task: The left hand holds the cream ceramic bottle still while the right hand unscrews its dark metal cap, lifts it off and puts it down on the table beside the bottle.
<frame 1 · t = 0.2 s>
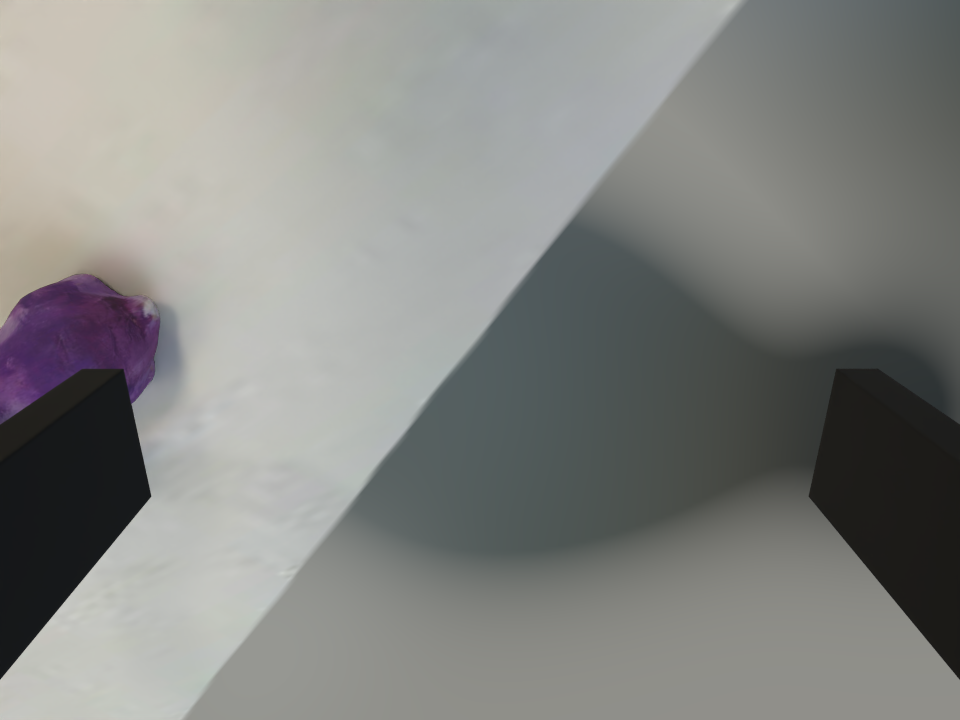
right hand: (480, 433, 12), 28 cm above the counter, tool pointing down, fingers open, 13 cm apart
figurine: (95, 347, 42), on the counter
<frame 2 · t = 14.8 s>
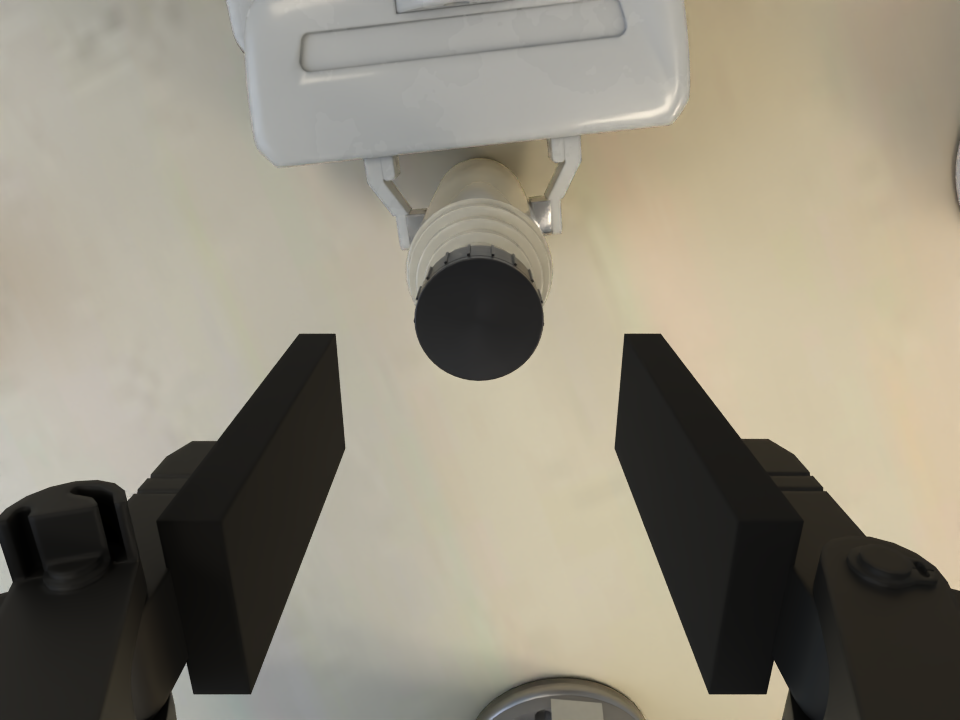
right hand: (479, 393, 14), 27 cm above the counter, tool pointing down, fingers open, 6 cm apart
left hand: (482, 240, 34), fingers closed on bottle, 5 cm apart
cap: (479, 318, 19), point 22 cm above the counter, screwed on, not yet turned
bottle: (479, 204, 39), on the counter, touching left hand
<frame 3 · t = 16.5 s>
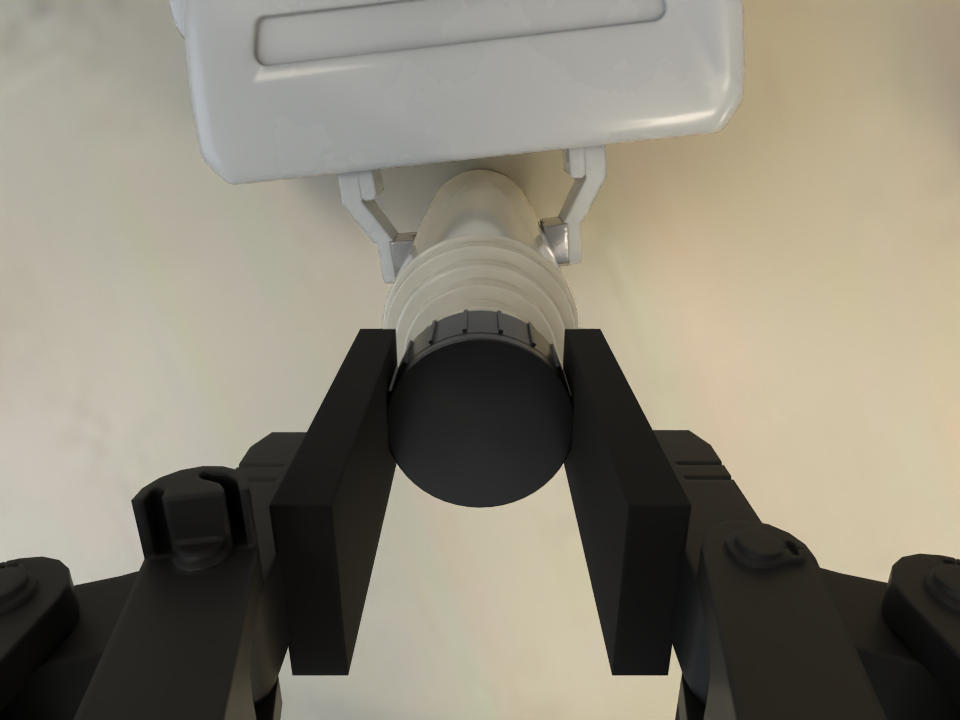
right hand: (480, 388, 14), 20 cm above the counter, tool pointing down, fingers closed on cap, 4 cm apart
left hand: (483, 271, 28), fingers closed on bottle, 5 cm apart
cap: (480, 420, 13), point 22 cm above the counter, screwed on, not yet turned, touching right hand
bottle: (480, 223, 33), on the counter, touching left hand
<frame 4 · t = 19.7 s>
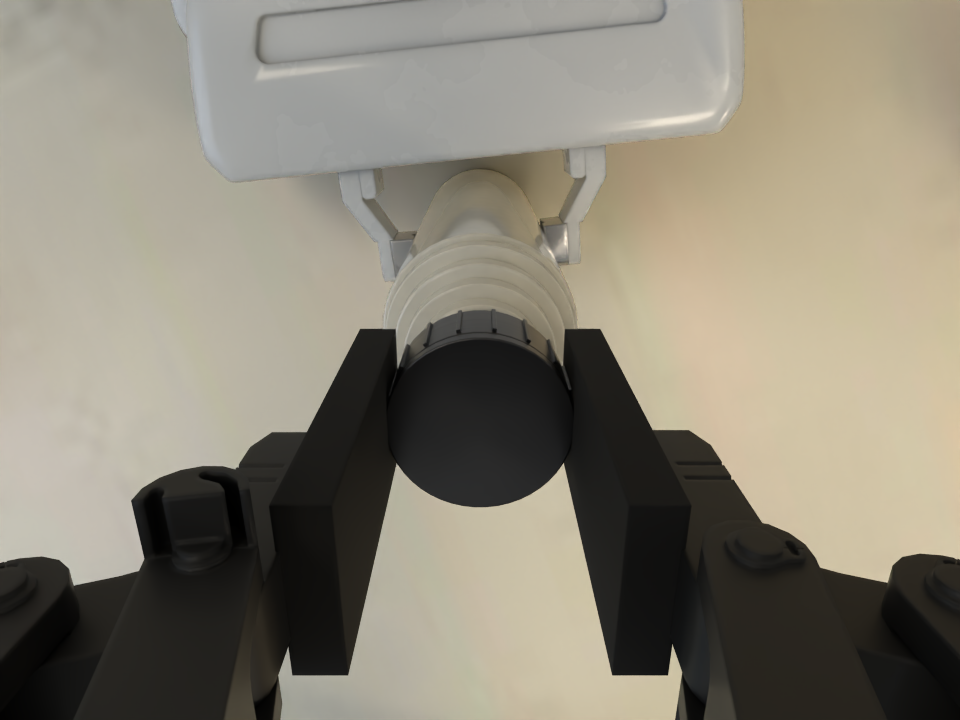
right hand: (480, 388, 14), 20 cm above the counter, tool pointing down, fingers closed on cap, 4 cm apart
left hand: (483, 270, 28), fingers closed on bottle, 5 cm apart
cap: (480, 420, 13), point 22 cm above the counter, turned 110° so far, risen 0.1 cm, still on its thread, touching right hand
bottle: (480, 223, 33), on the counter, touching left hand
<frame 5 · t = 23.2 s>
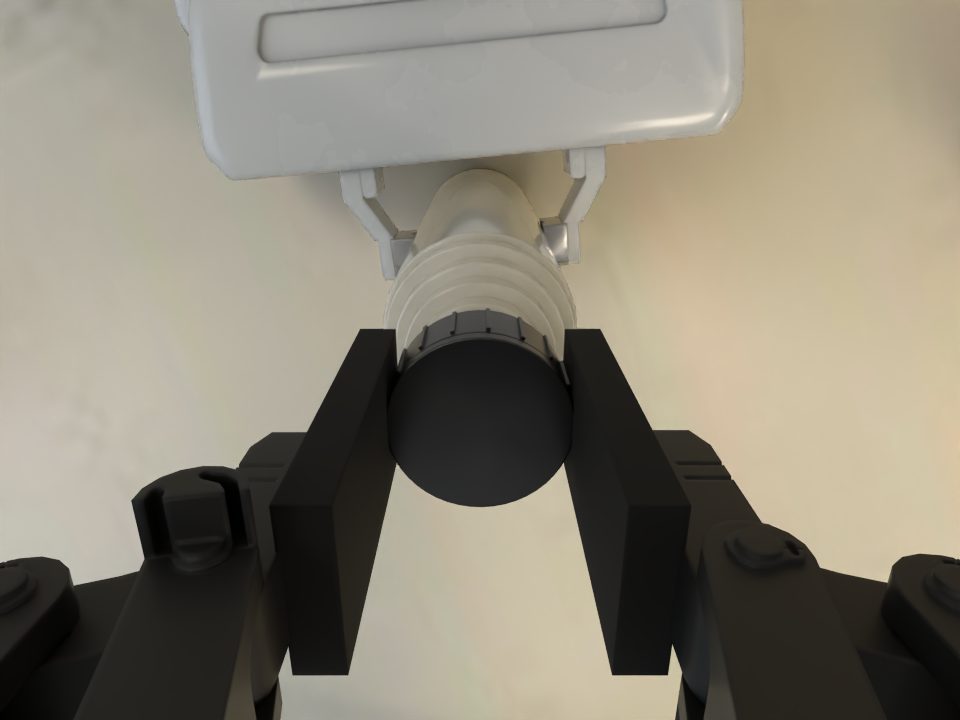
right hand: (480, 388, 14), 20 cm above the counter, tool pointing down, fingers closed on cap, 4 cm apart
left hand: (483, 269, 28), fingers closed on bottle, 5 cm apart
cap: (480, 420, 13), point 22 cm above the counter, turned 220° so far, risen 0.2 cm, still on its thread, touching right hand
bottle: (480, 222, 33), on the counter, touching left hand
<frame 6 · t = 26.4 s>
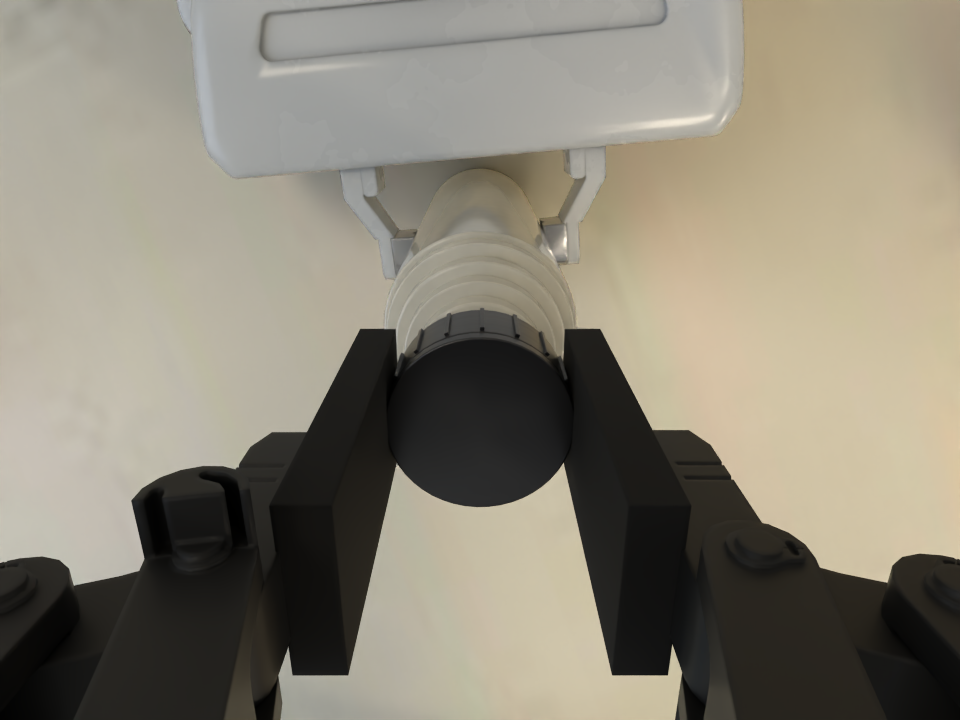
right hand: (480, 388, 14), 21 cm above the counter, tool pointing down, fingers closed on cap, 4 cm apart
left hand: (482, 268, 28), fingers closed on bottle, 5 cm apart
cap: (480, 420, 13), point 22 cm above the counter, turned 330° so far, risen 0.3 cm, still on its thread, touching right hand
bottle: (479, 222, 34), on the counter, touching left hand
when the right hand's fingers open (1 cm above the counter, at t = 32.8 s): cap drops 1 cm, point 1 cm above the counter.
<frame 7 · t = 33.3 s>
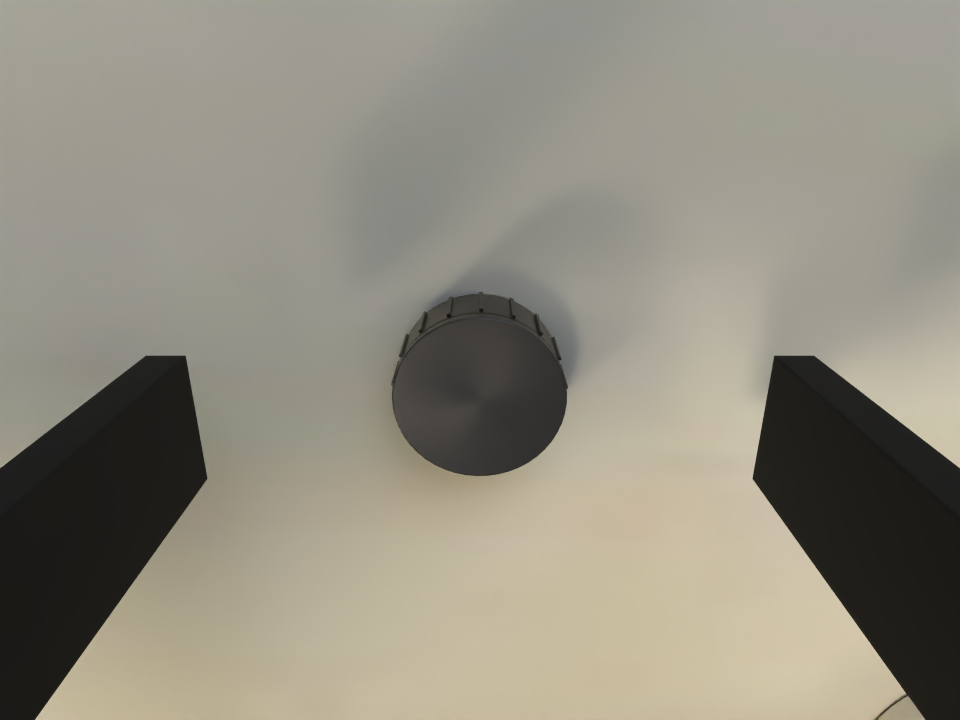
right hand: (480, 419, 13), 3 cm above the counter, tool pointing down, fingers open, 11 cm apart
cap: (479, 395, 14), point 1 cm above the counter, off its thread
when the left hand's fingers open (6 cm above the counter, at t = 34.2 s): bottle stays where it is, on the counter.
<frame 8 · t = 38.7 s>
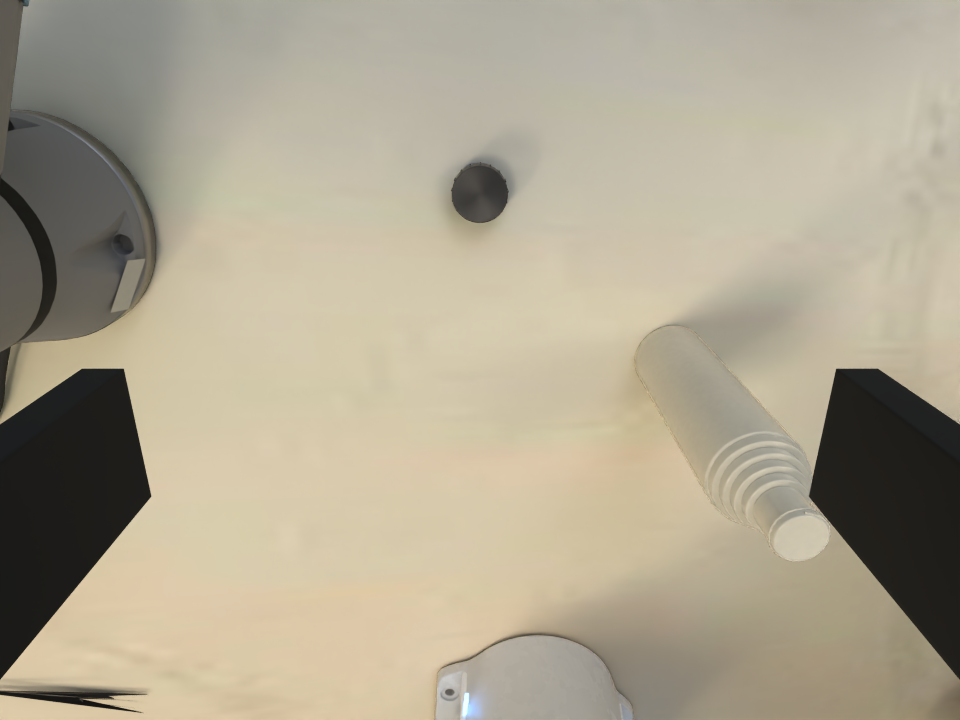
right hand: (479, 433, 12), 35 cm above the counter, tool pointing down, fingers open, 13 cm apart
feather: (5, 686, 61), on the counter
cap: (479, 194, 43), point 1 cm above the counter, off its thread
bottle: (670, 358, 49), on the counter
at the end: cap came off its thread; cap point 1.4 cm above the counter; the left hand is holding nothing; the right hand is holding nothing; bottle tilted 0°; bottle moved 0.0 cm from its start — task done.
